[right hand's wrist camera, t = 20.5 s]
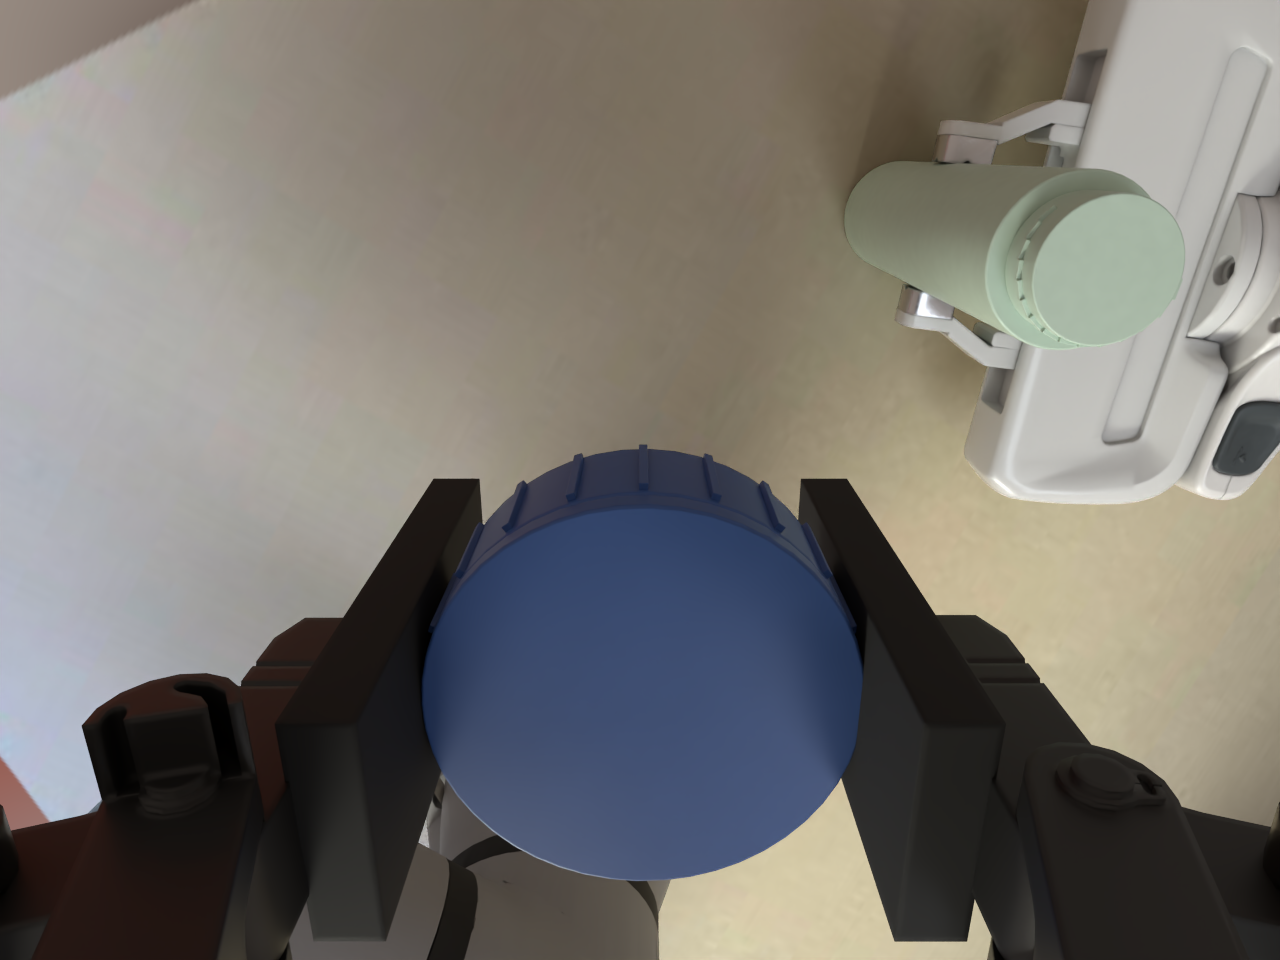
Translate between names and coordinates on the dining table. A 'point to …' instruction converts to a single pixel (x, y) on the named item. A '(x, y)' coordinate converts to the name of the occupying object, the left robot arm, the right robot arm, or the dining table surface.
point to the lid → (642, 668)
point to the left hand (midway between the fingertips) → (919, 226)
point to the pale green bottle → (1023, 246)
